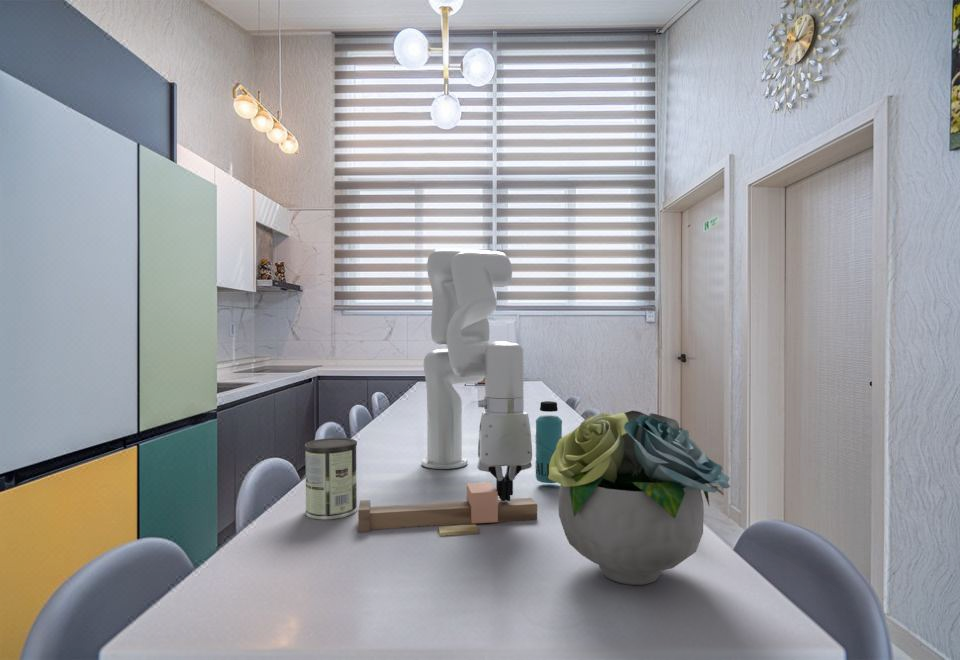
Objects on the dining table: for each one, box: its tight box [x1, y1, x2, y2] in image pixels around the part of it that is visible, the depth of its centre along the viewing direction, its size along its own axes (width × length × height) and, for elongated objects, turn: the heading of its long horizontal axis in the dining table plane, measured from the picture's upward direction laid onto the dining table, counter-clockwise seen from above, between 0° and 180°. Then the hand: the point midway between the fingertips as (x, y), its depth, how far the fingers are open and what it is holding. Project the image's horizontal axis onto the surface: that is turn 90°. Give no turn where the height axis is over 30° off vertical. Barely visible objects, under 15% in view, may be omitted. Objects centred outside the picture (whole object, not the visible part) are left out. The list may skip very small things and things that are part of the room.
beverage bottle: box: [534, 400, 563, 484], centre depth 132 cm, size 6×7×20 cm
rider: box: [466, 482, 499, 525], centre depth 109 cm, size 7×5×6 cm
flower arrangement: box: [548, 410, 731, 586], centre depth 84 cm, size 25×25×24 cm
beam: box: [357, 497, 538, 537], centre depth 108 cm, size 15×34×4 cm, turn 100°
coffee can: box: [304, 437, 358, 521], centre depth 114 cm, size 10×10×14 cm
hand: (504, 499), depth 110 cm, fingers closed
